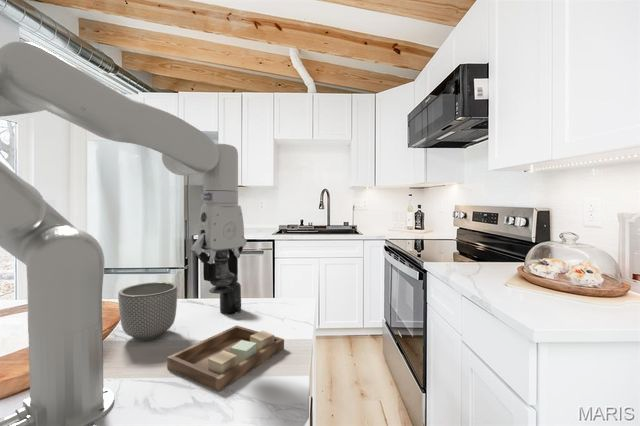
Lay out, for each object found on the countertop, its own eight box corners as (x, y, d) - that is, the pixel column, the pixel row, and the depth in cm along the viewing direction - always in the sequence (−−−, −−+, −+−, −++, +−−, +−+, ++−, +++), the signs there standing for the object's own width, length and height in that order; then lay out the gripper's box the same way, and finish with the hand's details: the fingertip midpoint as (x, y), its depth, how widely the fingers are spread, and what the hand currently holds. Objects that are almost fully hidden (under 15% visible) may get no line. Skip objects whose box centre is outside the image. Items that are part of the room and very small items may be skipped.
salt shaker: (226, 294, 68) (226, 240, 68) (202, 293, 69) (202, 239, 69) (238, 287, 74) (238, 237, 73) (216, 286, 75) (216, 236, 75)
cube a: (221, 384, 61) (221, 363, 61) (208, 378, 63) (208, 358, 63) (237, 374, 64) (237, 355, 64) (223, 368, 66) (223, 350, 66)
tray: (219, 394, 58) (219, 379, 58) (167, 370, 66) (167, 357, 66) (284, 351, 75) (284, 339, 75) (236, 336, 84) (236, 325, 83)
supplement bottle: (237, 306, 108) (237, 272, 107) (244, 312, 102) (244, 275, 102) (217, 310, 104) (216, 274, 103) (223, 316, 98) (223, 278, 98)
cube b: (246, 369, 66) (246, 351, 66) (230, 365, 67) (230, 347, 67) (256, 360, 70) (256, 343, 70) (241, 357, 71) (241, 340, 71)
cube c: (261, 357, 71) (261, 340, 71) (249, 352, 73) (249, 335, 73) (274, 351, 74) (274, 334, 74) (262, 346, 77) (262, 330, 76)
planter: (124, 330, 87) (123, 284, 86) (178, 322, 92) (178, 279, 92) (113, 352, 74) (112, 298, 74) (177, 342, 80) (176, 292, 79)
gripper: (200, 198, 62) (200, 288, 62) (259, 199, 76) (258, 272, 77) (176, 198, 65) (177, 283, 66) (237, 199, 80) (237, 269, 81)
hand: (221, 276), depth 71 cm, fingers closed on salt shaker, 5 cm apart
